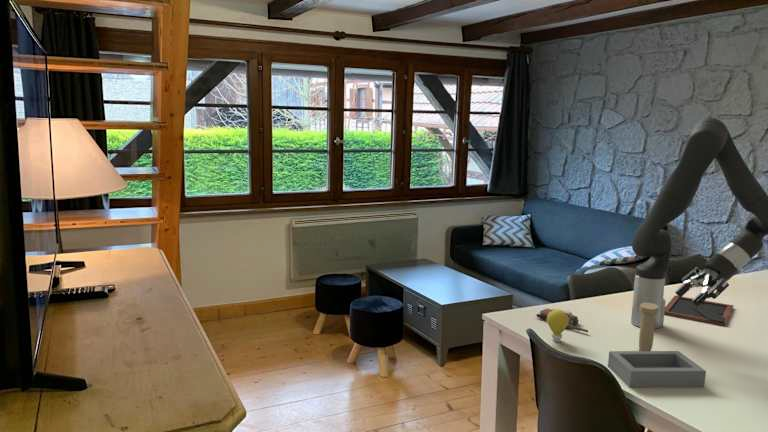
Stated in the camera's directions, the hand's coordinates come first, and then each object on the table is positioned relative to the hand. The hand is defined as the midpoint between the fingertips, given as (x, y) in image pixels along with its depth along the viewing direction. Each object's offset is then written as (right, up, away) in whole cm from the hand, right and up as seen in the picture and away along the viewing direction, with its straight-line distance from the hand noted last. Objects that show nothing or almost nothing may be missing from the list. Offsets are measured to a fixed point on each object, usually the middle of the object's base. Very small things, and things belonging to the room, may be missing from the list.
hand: (685, 299), depth 166 cm
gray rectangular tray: (-15, -19, -13) cm, 28 cm away
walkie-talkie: (-27, -13, +27) cm, 40 cm away
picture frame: (+27, -11, +43) cm, 52 cm away
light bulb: (-34, -15, +12) cm, 39 cm away
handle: (-11, -17, +2) cm, 20 cm away
